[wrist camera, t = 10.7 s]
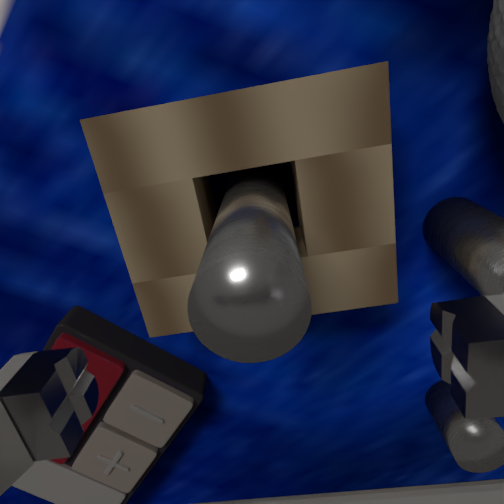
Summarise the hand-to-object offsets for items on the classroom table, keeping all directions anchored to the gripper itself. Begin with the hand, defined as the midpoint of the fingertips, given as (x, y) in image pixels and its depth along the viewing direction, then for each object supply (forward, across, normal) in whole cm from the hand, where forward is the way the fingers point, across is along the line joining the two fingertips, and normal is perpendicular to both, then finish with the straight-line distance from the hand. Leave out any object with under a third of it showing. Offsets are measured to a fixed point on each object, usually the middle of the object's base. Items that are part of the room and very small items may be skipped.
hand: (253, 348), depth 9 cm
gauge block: (+16, +1, 0) cm, 16 cm away
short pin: (+16, -11, +18) cm, 27 cm away
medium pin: (+16, -11, +4) cm, 20 cm away
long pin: (+16, 0, +1) cm, 16 cm away
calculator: (+16, +15, +15) cm, 27 cm away
